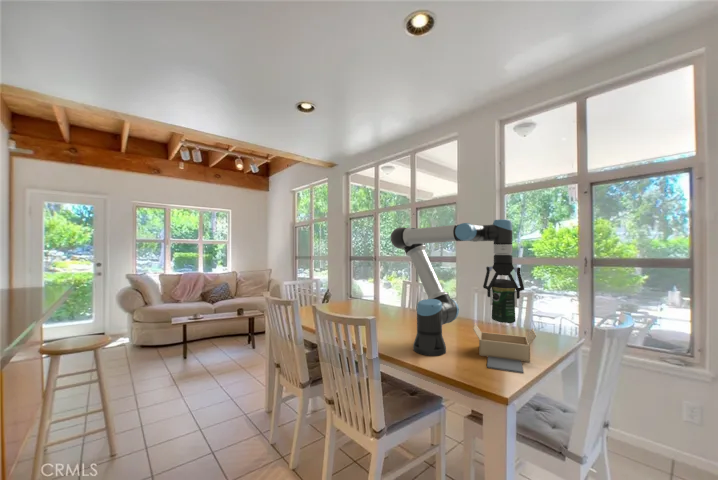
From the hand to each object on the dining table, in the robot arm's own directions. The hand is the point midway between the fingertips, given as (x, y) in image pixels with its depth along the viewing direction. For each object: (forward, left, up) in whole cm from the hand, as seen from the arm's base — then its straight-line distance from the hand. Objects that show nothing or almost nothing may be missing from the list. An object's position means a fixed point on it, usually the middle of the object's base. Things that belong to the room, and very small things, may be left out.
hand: (503, 305), depth 134 cm
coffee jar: (0, 0, -7) cm, 7 cm away
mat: (0, -8, -23) cm, 24 cm away
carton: (0, +7, -23) cm, 25 cm away
